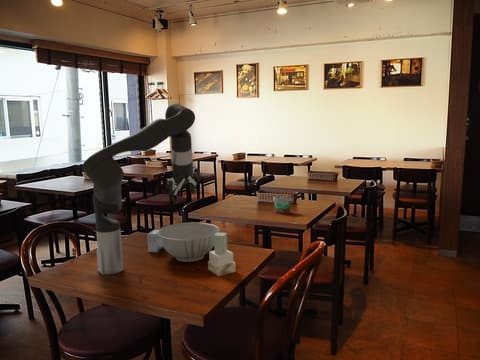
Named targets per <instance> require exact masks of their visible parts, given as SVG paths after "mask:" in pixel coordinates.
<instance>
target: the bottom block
mask: <svg viewBox="0 0 480 360" xmlns="http://www.w3.org/2000/svg"><path fill="white" fill-rule="evenodd" d="M236 267H237V266H236V262H235V261H234V260H233V263H230V264H226V265H221V266H217V265H215V264H213V263H212V262H210V261H209V260H208V261H207V270H208V271H209V272H211V273H212V274H214V275H216V276H218V277H220V276H224V275H228V274H231V273H235V272H236V271H237V270H236V269H237V268H236Z"/></svg>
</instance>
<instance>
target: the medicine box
mask: <svg viewBox="0 0 480 360" xmlns="http://www.w3.org/2000/svg"><path fill="white" fill-rule="evenodd" d="M159 230H160V229H159V228H158V229H153V230H152V231H150V232H149V233H147V234H146V237H147V239H146V240H147V251H148V253H158V252H159V251H160V250H162V248H163V249H164V247H163V246H162V244H161V242H160V240H159V238H158V234H157V233H158V231H159Z"/></svg>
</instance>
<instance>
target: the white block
mask: <svg viewBox="0 0 480 360" xmlns="http://www.w3.org/2000/svg"><path fill="white" fill-rule="evenodd" d="M208 255H209V256H208V257H209V260H208V261H210V262H212V263H213V264H215V265H217V266H221V265H226V264H230V263H233V261H234V252H232V251H231V250H228V249H227V252H226V253H225V254H215V249H214V250H210V251H209V252H208Z"/></svg>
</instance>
